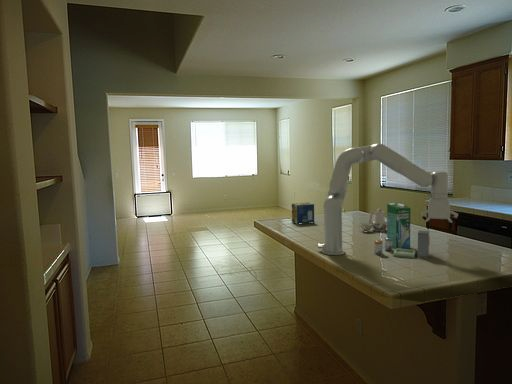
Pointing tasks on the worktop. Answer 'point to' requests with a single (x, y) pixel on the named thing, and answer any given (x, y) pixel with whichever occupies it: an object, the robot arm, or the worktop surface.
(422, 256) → the block
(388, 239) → the clear glass jar
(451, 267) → the worktop surface
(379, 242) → the copper lidded jar
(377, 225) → the chinaware
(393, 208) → the milk carton
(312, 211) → the protein box
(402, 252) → the tray
